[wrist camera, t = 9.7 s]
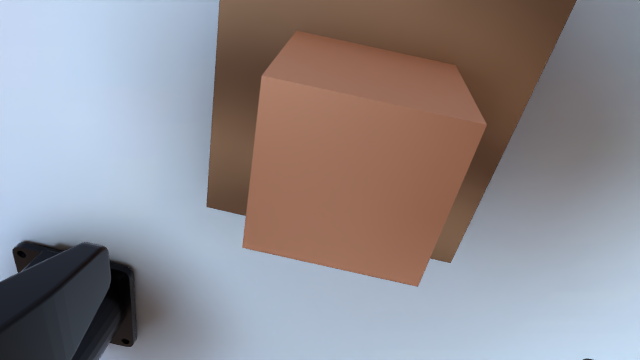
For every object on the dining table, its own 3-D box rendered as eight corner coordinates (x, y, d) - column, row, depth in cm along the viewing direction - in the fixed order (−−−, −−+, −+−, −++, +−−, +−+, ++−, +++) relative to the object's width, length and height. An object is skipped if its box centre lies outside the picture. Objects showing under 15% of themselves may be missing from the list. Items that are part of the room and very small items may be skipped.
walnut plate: (446, 241, 20) (450, 263, 19) (217, 188, 20) (206, 207, 19) (559, -8, 14) (576, -1, 13) (238, -81, 14) (224, -81, 13)
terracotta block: (408, 197, 17) (417, 286, 13) (276, 168, 17) (242, 247, 13) (455, 65, 14) (487, 124, 10) (296, 30, 15) (261, 75, 10)
